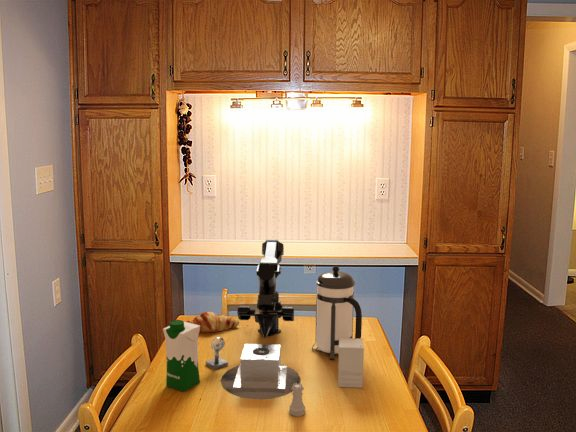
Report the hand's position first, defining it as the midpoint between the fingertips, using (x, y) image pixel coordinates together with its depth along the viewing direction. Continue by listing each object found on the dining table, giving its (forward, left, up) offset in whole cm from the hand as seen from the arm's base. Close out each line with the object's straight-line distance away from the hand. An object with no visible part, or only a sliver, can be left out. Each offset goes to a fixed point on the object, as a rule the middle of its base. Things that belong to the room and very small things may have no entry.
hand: (264, 337), depth 180 cm
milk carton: (+29, -3, -8) cm, 30 cm away
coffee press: (-22, +12, -8) cm, 26 cm away
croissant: (-2, -33, -8) cm, 34 cm away
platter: (+10, +10, -7) cm, 16 cm away
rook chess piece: (+15, +31, -8) cm, 36 cm away
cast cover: (+10, +11, -7) cm, 17 cm away
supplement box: (-9, +29, -8) cm, 32 cm away
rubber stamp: (+14, -7, -7) cm, 17 cm away
